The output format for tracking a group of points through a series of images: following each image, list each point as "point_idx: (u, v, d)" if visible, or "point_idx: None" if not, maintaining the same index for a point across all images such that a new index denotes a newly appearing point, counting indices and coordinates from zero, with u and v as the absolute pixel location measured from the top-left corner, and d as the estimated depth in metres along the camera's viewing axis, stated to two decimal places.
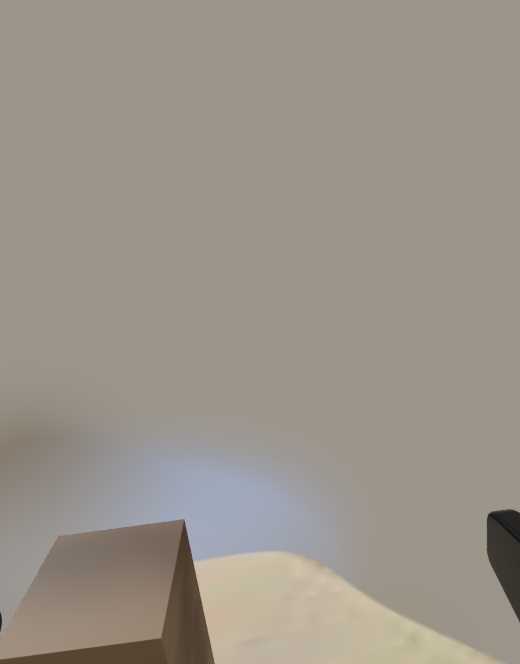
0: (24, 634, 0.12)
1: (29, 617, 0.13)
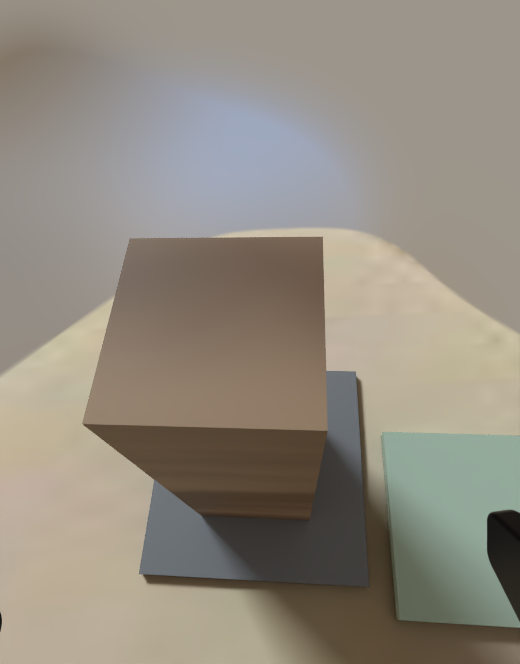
0: (122, 391, 0.09)
1: (122, 365, 0.09)
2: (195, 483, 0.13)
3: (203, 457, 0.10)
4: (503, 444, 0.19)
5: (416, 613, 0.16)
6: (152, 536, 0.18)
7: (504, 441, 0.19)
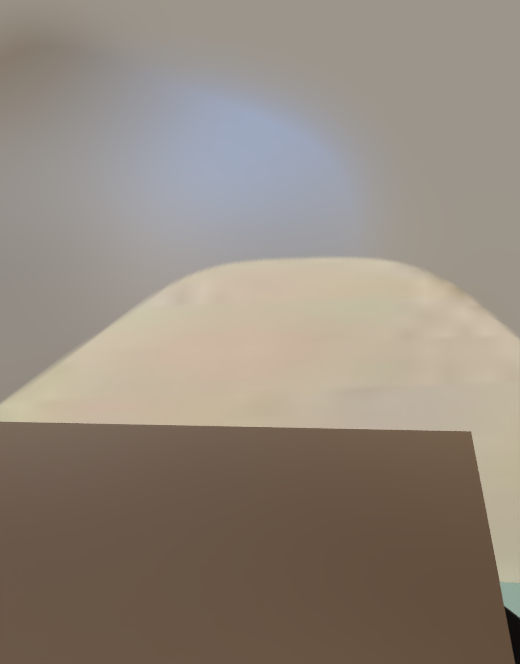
0: None
1: None
2: None
3: None
4: None
5: None
6: None
7: None
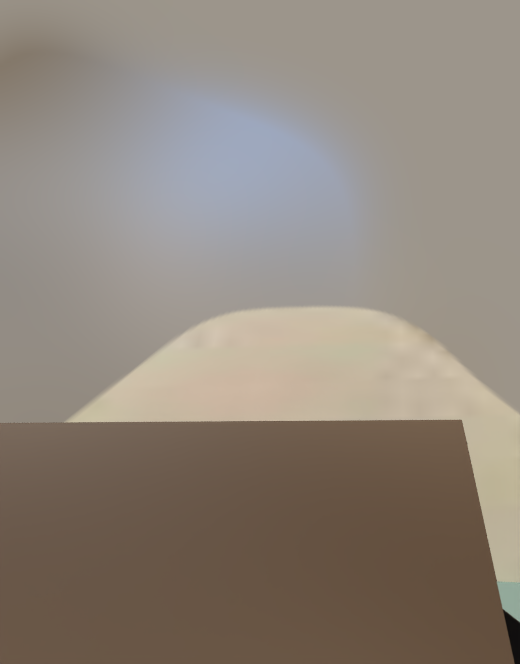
0: None
1: None
2: None
3: None
4: None
5: None
6: None
7: None
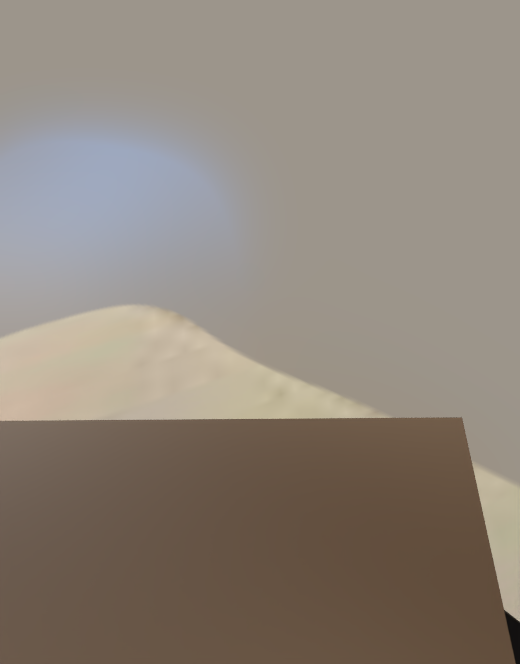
0: None
1: None
2: None
3: None
4: None
5: None
6: None
7: None
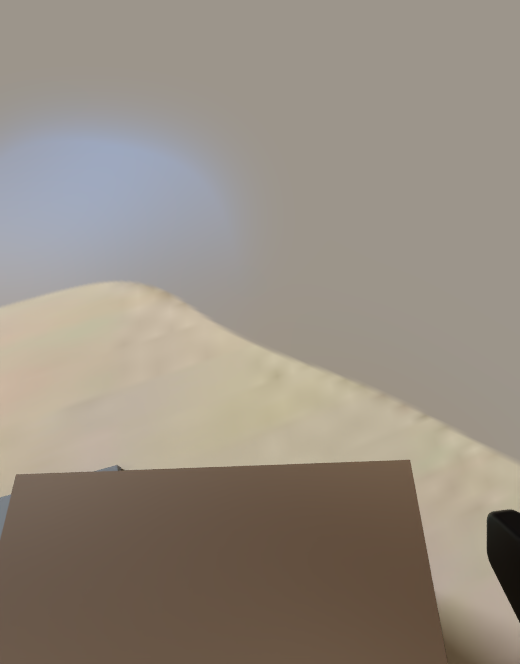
0: None
1: None
2: None
3: None
4: None
5: None
6: None
7: None
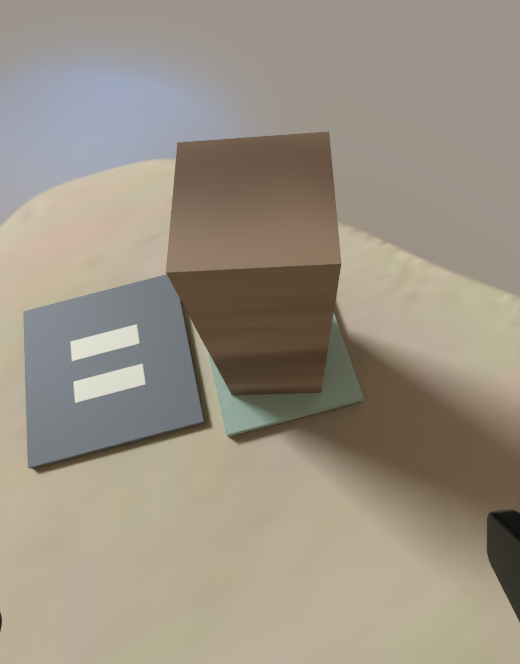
0: (191, 250, 0.12)
1: (187, 232, 0.12)
2: (235, 344, 0.16)
3: (247, 306, 0.13)
4: None
5: (237, 426, 0.22)
6: (33, 439, 0.23)
7: None
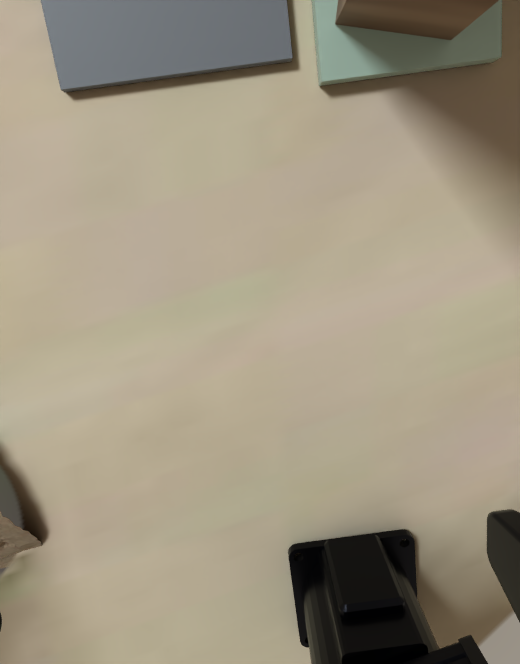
0: None
1: None
2: None
3: None
4: None
5: (336, 72, 0.17)
6: (60, 48, 0.17)
7: None
